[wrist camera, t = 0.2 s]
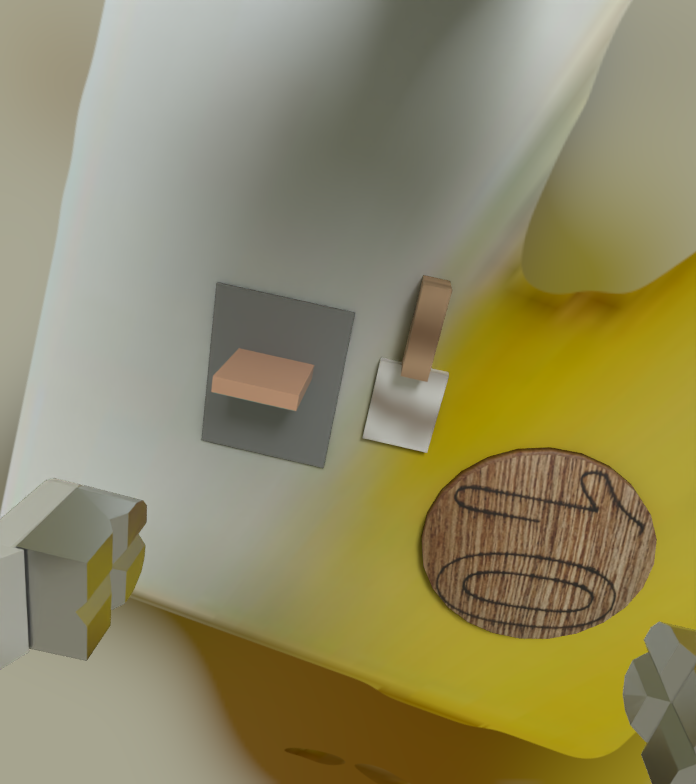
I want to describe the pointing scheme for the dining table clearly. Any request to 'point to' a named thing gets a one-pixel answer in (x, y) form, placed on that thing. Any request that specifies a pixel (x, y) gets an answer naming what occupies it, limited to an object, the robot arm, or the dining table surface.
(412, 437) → the turner
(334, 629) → the dining table surface
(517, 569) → the trivet
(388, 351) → the dining table surface
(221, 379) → the tile
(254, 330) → the mat
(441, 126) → the dining table surface
